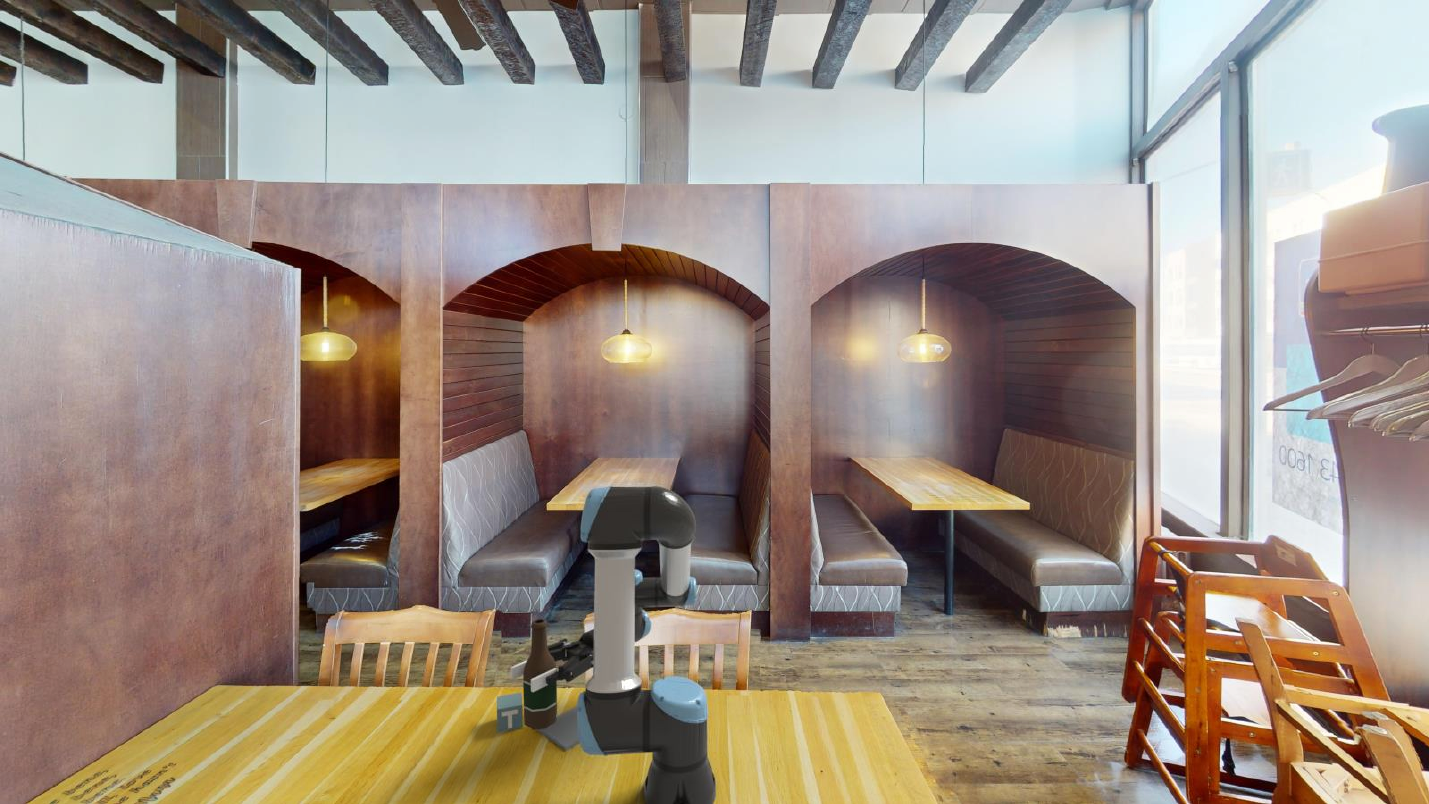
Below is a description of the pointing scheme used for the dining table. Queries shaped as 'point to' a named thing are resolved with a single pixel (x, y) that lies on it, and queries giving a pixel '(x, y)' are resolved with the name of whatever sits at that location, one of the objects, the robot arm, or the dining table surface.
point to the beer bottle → (543, 701)
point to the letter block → (509, 712)
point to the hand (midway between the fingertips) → (521, 679)
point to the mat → (563, 730)
